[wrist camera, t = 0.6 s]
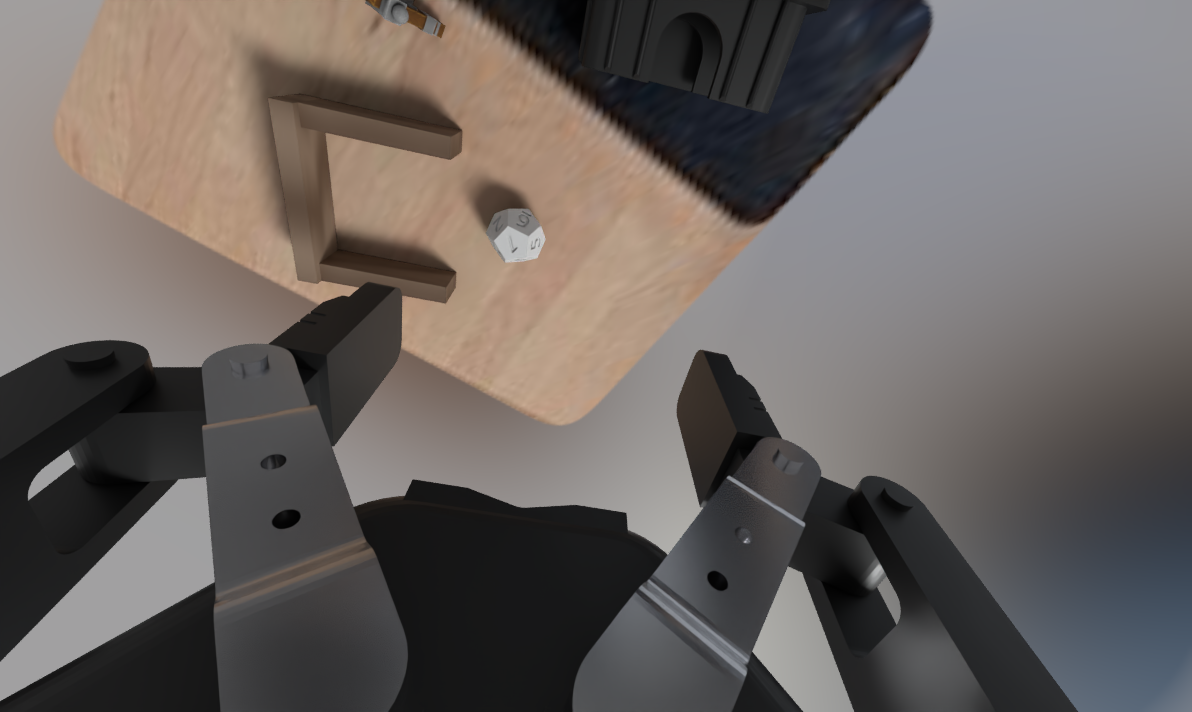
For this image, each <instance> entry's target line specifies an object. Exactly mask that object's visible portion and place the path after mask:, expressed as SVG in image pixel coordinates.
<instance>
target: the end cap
mask: <svg viewBox="0 0 1192 712" xmlns="http://www.w3.org/2000/svg"><path fill="white" fill-rule="evenodd" d="M829 3H830V0H587V7H586V13H585V19H584V25H583V31H582V37H581V44H580V50H579V56H578V58H579V60H580V62H581V64H582V66H584V67H588V68H591V69H595V70H599V71H603V72H607V73H611V74H615V75H619V76H623V77H626V78H630V79H634V80H638V81H642V82H646V83H648V81H652V82H656V83H660V84H664V85H668V86H671V87H675V88H679V89H683V90H687V91H691V92H693V93H697V94H701V95H705V96H708V97H707V98H709V99H712V100H716V101H720V102H724V103H728V104H732V105H736V106H740V107H744V108H748V109H752V110H755V111H759V112H763V113H768V112H769V109H770V107H771V104H772V101H773V99H774V96H775V93H776V91H777V88H778V85H779V83H780V80H781V78H782V75H783V72H784V70H785V67H786V64H787V62H788V59H789V56H790V54H791V51H792V48H793V46H794V43H795V40H796V38H797V35H798V32H799V30H800V27H801V25H802V22H803V19H804V17H805V15H807V14H812V13H817V12H822V11H826V10H827V8H828V6H829Z"/></svg>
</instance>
